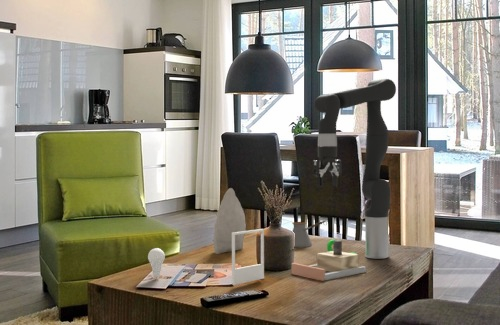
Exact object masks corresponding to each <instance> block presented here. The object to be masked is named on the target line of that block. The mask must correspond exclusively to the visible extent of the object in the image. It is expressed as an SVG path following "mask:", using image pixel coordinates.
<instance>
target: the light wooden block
mask: <svg viewBox="0 0 500 325" xmlns="http://www.w3.org/2000/svg"><path fill="white" fill-rule="evenodd" d="M335 240H336V239H335ZM332 247H333V248H332V249H333V251H330V252H327V251H325V252H319V253H316V264H317V268H321V269H325V271H329V272H336V271H341V270H346V269H351V268H356V267H359V254H357V253H356V254H352V253H353V252H345V251H343V241H342V240H336V241H333V245H332Z"/></svg>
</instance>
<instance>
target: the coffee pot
mask: <svg viewBox="0 0 500 325" xmlns="http://www.w3.org/2000/svg"><path fill="white" fill-rule="evenodd" d="M325 223H326V224H325ZM306 224H307V222H306V221H294V222H292V225H293V229H292V231H293V232H294V233H295V247H294V248H308V247H311V246H312V245H313V243H312V241H311V238H310V236H309V234H308V230H309V229H312V228H315V227H319V226H320V225H323V226H327V224H328V223H327V221H326V220H322V221H319V222H316V223H314V224H312V225H310V226H308V227H306Z"/></svg>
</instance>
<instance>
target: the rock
mask: <svg viewBox="0 0 500 325" xmlns="http://www.w3.org/2000/svg"><path fill="white" fill-rule="evenodd" d="M213 226H214V232H213V237H212V243H213V248H214V254H217V255H218V254H223V253H226V252H232V233H234V232H242V231H247V230H246V227H247V224H246V216H245V211H244V209H243V207H242V205H241V202H240V201H239V199H238V197H237V196H236V193H235V190H234V189H233V188H232V187H230V188H228V189H227V191H226V192H225V193H224V194H223V198H222V200H221V201H220V206H218V211H217V212H216V219H215V223H214V225H213ZM245 234H246V233H245ZM245 234H238V235H235V251H238V250H242V249H243V248H244V241H245V240H244V239H245Z"/></svg>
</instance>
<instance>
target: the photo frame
mask: <svg viewBox="0 0 500 325" xmlns="http://www.w3.org/2000/svg"><path fill="white" fill-rule="evenodd" d="M264 230H265V229H264V228H258V229H250V230H246V231H242V232H234V233H232V251H231V285H233V286H235V285H240V284H243V283H244V284H245V283H249V282H254V281H258V280H263V279H265V235H264V234H265V231H264ZM259 232H260V263H259V264H252V265H247V266H242V267H237V268H236V250H235V235H238V234H251V233H252V234H253V233H259Z"/></svg>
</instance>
